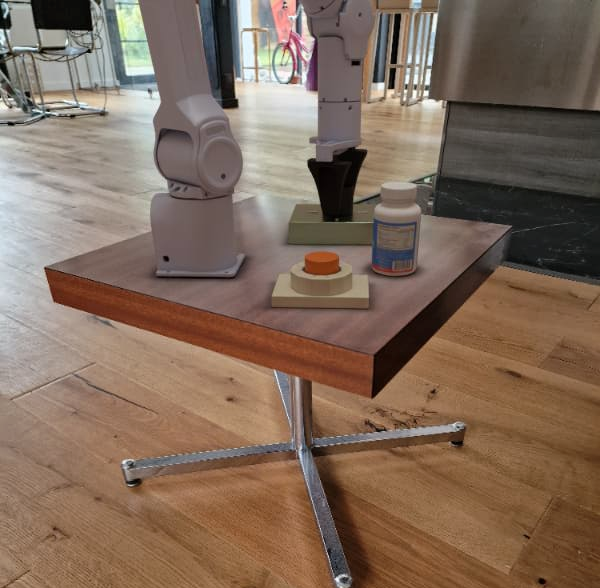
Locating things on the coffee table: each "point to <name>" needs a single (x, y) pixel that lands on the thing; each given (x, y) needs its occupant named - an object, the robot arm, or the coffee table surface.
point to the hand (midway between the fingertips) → (337, 208)
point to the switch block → (321, 289)
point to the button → (321, 263)
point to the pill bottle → (396, 230)
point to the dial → (346, 200)
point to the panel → (331, 225)
